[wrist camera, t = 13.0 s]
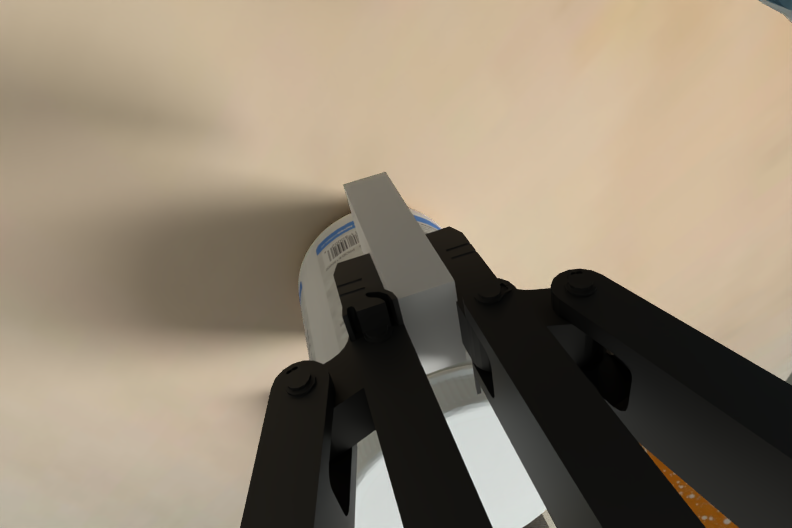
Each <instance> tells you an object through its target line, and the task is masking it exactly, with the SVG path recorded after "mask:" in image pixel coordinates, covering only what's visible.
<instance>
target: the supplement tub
mask: <svg viewBox="0 0 792 528" xmlns="http://www.w3.org/2000/svg"><path fill="white" fill-rule="evenodd" d="M409 210H410V211H411V213H412V214H413V216H414V218H415V219H416V221H417V222H418V224H419V225H420V227H421V229H422V230H423V232H424V233H425V234H427V233H431V232H434V231H437V230H440V229H442V228H441V227H440V226H439V225H438V224H437V223H436V222H435V221H434V220H432V219H431V218H429V217H428V216H426V215H424V214H422V213H420V212H418V211H415V210H412V209H409ZM362 255H364V254H363V252H362V249H361V245H360V242H359V238H358V235H357V231H356V228H355V224H354V221H353V217H352V214H351V213H350V214H348V215H346V216H344V217H342V218H340V219H339V220H337V221H336V222H334V223H333V224H331V225H330V226H329V227H327V228H326V229H325V230H324V231H323V232H322V233H321V234H320V235H319V236H318V237H317V238H316V239H315V241H314V242H313V243H312V245H311V246H310V248H309V249H308V251H307V253H306V255H305V257H304V259H303V262H302V265H301V268H300V273H299V280H298V290H299V299H300V306H301V312H302V318H303V324H304V330H305V336H306V342H307V348H308V354H309V360H314V361H317V362H319V363H322V364H325V363H326V362H328V361H329V360H331V359H332V358H334V357H335V356H336V355H338V354H339V353H340V352H341V350H342V349H343V348H344V347H345V345H346V343H347V341H348V337H349V335H348V332H347V329H346V327H345V324H344V321H343V318H342V305H341V301H340V298H339V294H338V290H337V287H336V283H335V280H334V276H333V274H334V271H335V268H336V265H337V263H340V262H343V261H346V260H349V259H352V258H355V257H358V256H362ZM465 352H466V358H467V360H466V361H463V362H460V363H457V364H455V365H452V366H449V367H446V368H443V369H440V370H437V371H434V372H432V373H429V374H426V376H427V378H428V380H429V382H430V385H431V387H432V389H433V392H434V394H435V396H436V398H437V401H438V403H439V405H440V408H441V410H442V412H443V415H444V417H445V419H446V421H447V424H448V426H449V428H450V431H451V433H452V435H453V438H454V440H455V442H456V444H457V447H458V449H459V451H460V454H461V456H462V458H463V460H464V463H465V465H466V467H467V470H468V472H469V474H470V477H471V479H472V481H473V483H474V486H475V488H476V490H477V493H478V495H479V497H480V500H481V502H482V504H483V506H484V509H485V511H486V513H487V516H488V518H489V520H490V522H491V525H492V527H493V528H522V527H524V526H525V525H527V524H528V523H530V522H531V521H533V520H534V519H535V518H536V517H538V516H539V515H540V514H542V513H543V512H544V511H545V510H546V507H545V505H544V503H543V501H542V500H541V498H540V496H539V494H538V492H537V490H536V488H535V487H534V485H533V483H532V481H531V479H530V477H529V475H528V474H527V472H526V470H525V468H524V466H523V464H522V462H521V460H520V459H519V457H518V455H517V453H516V451H515V449H514V447H513V446H512V444H511V442H510V440H509V438H508V436H507V434H506V433H505V431H504V429H503V427H502V425H501V423H500V421H499V420H498V418H497V416H496V414H495V412H494V410H493V408H492V407H491V405H490V403H489V401H488V399H487V397H486V395H485V394H484V392H483V390H482V388H481V394H478V395H477V391H476V386H475V379H474V372H473V366H472V359H471V357H470V356H469V354H468V352H467V350H466V348H465ZM357 447H358V450H357V476H356V502H355V528H403V524H402V521H401V517H400V514H399V510H398V506H397V503H396V499H395V496H394V492H393V489H392V485H391V482H390V478H389V475H388V471H387V468H386V464H385V461H384V457H383V454H382V450H381V446H380V443H379V439H378V436H377V432H376V430H375V431H373V432H372V433H371V434H369V435H368V436H367V437H365V438H364V439H362V440H361V441H360V442H358V443H357Z"/></svg>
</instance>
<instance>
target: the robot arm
mask: <svg viewBox="0 0 792 528" xmlns="http://www.w3.org/2000/svg"><path fill="white" fill-rule="evenodd" d="M759 1H760V2H762V3H763V4H765V5H767V6H769V7H771V8H772V9H774V10H776V11H778V12H780V13H782V14H783V15H784V16H785V17H786V18H787V19H788V20H789V21H790V22H791V23H792V0H759ZM343 186H344V189H345V193H346V196H347V200H348V203H349V207H350V210H351V214H352V217H353V221H354V224H355V228H356V231H357V235H358V238H359V242H360V245H361V249H362V252H363V254H364V255H362V256H358V257H355V258H352V259H349V260H346V261H343V262H340V263H337V265H336V268H335V271H334V274H333V276H334V280H335V283H336V287H337V290H338V294H339V298H340V301H341V305H342V318H343V321H344V324H345V327H346V329H347V332H348V335H349V337H348V341H347V343H346V345H345V347H344V348H343V349H342V350H341V352H340V353H339V354H338V355H336V356H335V357H334V358H332V359H331V360H329V361H328V362H326V363H325V364H322V363H319V362H317V361H314V360H309V361H301V362H297V363H294V364H292V365H290V366H289V367H287V368H285V369H284V370H283V371H282V372H281V373H280V374H279V375H278V376H277V377H276V378H275V380H274V383H273V385H272V387H271V392H270V396H269V400H268V405H267V409H266V414H265V418H264V423H263V427H262V432H261V436H260V441H259V445H258V450H257V454H256V459H255V463H254V468H253V472H252V477H251V481H250V486H249V490H248V495H247V499H246V504H245V508H244V513H243V517H242V522H241V526H240V528H355V502H356V476H357V450H358V447H357V443H358V442H360V441H361V440H362V439H364V438H365V437H367V436H368V435H369V434H371V433H372V432H373V431H375V430H376V432H377V436H378V439H379V443H380V446H381V450H382V454H383V457H384V461H385V464H386V468H387V471H388V475H389V478H390V482H391V485H392V489H393V492H394V496H395V499H396V503H397V506H398V510H399V514H400V517H401V521H402V524H403V528H493V527H492V525H491V522H490V520H489V518H488V516H487V513H486V511H485V509H484V506H483V504H482V502H481V500H480V497H479V495H478V493H477V490H476V488H475V486H474V483H473V481H472V479H471V477H470V474H469V472H468V470H467V467H466V465H465V463H464V460H463V458H462V456H461V454H460V451H459V449H458V447H457V444H456V442H455V440H454V438H453V435H452V433H451V431H450V428H449V426H448V424H447V421H446V419H445V417H444V415H443V412H442V410H441V408H440V405H439V403H438V401H437V398H436V396H435V394H434V392H433V389H432V387H431V385H430V382H429V380H428V378H427V376H426V374H429V373H432V372H434V371H437V370H440V369H443V368H446V367H449V366H452V365H455V364H457V363H460V362H463V361H466V360H467V358H466V352H465V348H466V350H467V352H468V354H469V356H470V357H471V359H472V366H473V372H474V379H475V386H476V391H477V395H478V394H481V388H482V390H483V392H484V394H485V395H486V397H487V399H488V401H489V403H490V405H491V407H492V408H493V410H494V412H495V414H496V416H497V418H498V420H499V421H500V423H501V425H502V427H503V429H504V431H505V433H506V434H507V436H508V438H509V440H510V442H511V444H512V446H513V447H514V449H515V451H516V453H517V455H518V457H519V459H520V460H521V462H522V464H523V466H524V468H525V470H526V472H527V474H528V475H529V477H530V479H531V481H532V483H533V485H534V487H535V488H536V490H537V492H538V494H539V496H540V498H541V500H542V501H543V503H544V505H545V507H546V509H547V511H548V513H549V514H550V516H551V518H552V520H553V522H554V524H555V526H556V527H557V528H706V527H705V526H704V524H703V523H702V522H701V521H700V519H699V518H698V517H697V516H696V514H695V513H694V512H693V511H692V509H691V508H690V507H689V506H688V504H687V503H686V502H685V500H684V499H683V498H682V497H681V495H680V494H679V493H678V492H677V490H676V489H675V488H674V487H673V485H672V484H671V483H670V482H669V480H668V479H667V478H666V476H665V475H664V474H663V473H662V471H661V470H660V469H659V468H658V466H657V465H656V464H655V463H654V461H653V460H652V459H651V458H650V456H649V455H648V454H647V453H646V451H645V450H644V449H643V447H645V448H646V449H647V450H648V451H649V452H650V453H652V454H653V455H654V456H655V457H656V458H657V459H659V460H660V461H661V462H662V463H663V464H664V465H666V466H667V467H668V468H669V469H670V470H672V471H673V472H674V473H675V474H676V475H677V476H679V477H680V478H681V479H682V480H683V481H684V482H686V483H687V484H688V485H689V486H690V487H692V488H693V489H694V490H695V491H696V492H697V493H699V494H700V495H701V496H702V497H703V498H704V499H706V500H707V501H708V502H709V503H710V504H711V505H713V506H714V507H715V508H716V509H717V510H719V511H720V512H721V513H722V514H723V515H724V516H726V517H727V518H728V519H729V520H730V521H731V522H733V523H734V524H735V525H736V526H737V527H739V528H792V385H790V384H788V383H786V382H785V381H783V380H782V379H780V378H778V377H776V376H775V375H773V374H771V373H770V372H768V371H766V370H764V369H763V368H761V367H759V366H758V365H756V364H754V363H752V362H751V361H749V360H747V359H746V358H744V357H742V356H740V355H739V354H737V353H735V352H734V351H732V350H730V349H728V348H727V347H725V346H723V345H722V344H720V343H718V342H716V341H715V340H713V339H711V338H710V337H708V336H706V335H704V334H703V333H701V332H699V331H698V330H696V329H694V328H692V327H691V326H689V325H687V324H686V323H684V322H682V321H680V320H679V319H677V318H675V317H674V316H672V315H670V314H668V313H667V312H665V311H663V310H662V309H660V308H658V307H657V306H655V305H653V304H651V303H650V302H648V301H646V300H645V299H643V298H641V297H639V296H638V295H636V294H634V293H633V292H631V291H629V290H627V289H626V288H624V287H622V286H621V285H619V284H617V283H615V282H614V281H612V280H610V279H609V278H607V277H605V276H603V275H602V274H599V273H597V272H594V271H592V270H586V269H573V270H567V271H565V272H562V273H560V274H558V275H557V276H556V277H555V278H554V279H553V281H552V284H551V288H548V289H537V290H520V289H516V287H515V286H514V285H512V284H511V283H510V282H509V281H506V280H503V279H500V278H497V277H496V276H495V275H494V274H493V272H492V271H491V270H490V268H489V267H488V266H487V264H486V263H485V262H484V260H483V259H482V258H481V257H480V255H479V254H478V253H477V252H476V251H475V249H474V247H473V246H472V245H471V244H470V242H469V241H468V240H467V238H466V237H465V236H464V234H463V233H462V232H460V231H458V230H456V229H454V228H452V227H446V228H443V229H440V230H437V231H434V232H431V233H427V234H425V233H424V232H423V230H422V229H421V227H420V225H419V224H418V222H417V221H416V219H415V218H414V216H413V214H412V213H411V211H410V210H409V208H408V207H407V205H406V203H405V202H404V200H403V199H402V197H401V195H400V194H399V192H398V191H397V189H396V188H395V186H394V184H393V183H392V181H391V180H390V178H389V177H388V175H387V173H386V172H383V173H380V174H377V175H373V176H370V177H367V178H363V179H360V180H357V181H353V182H350V183H347V184H343ZM639 443H640V444H641V445H642V446H643V447H642V446H641V445H640V444H639Z"/></svg>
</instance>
